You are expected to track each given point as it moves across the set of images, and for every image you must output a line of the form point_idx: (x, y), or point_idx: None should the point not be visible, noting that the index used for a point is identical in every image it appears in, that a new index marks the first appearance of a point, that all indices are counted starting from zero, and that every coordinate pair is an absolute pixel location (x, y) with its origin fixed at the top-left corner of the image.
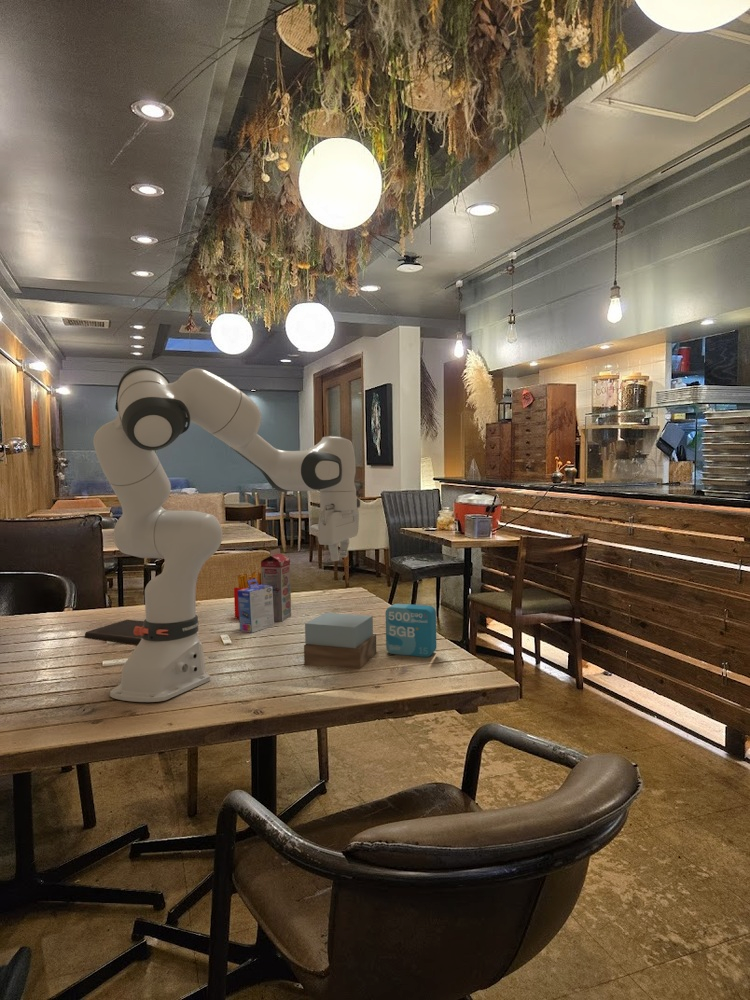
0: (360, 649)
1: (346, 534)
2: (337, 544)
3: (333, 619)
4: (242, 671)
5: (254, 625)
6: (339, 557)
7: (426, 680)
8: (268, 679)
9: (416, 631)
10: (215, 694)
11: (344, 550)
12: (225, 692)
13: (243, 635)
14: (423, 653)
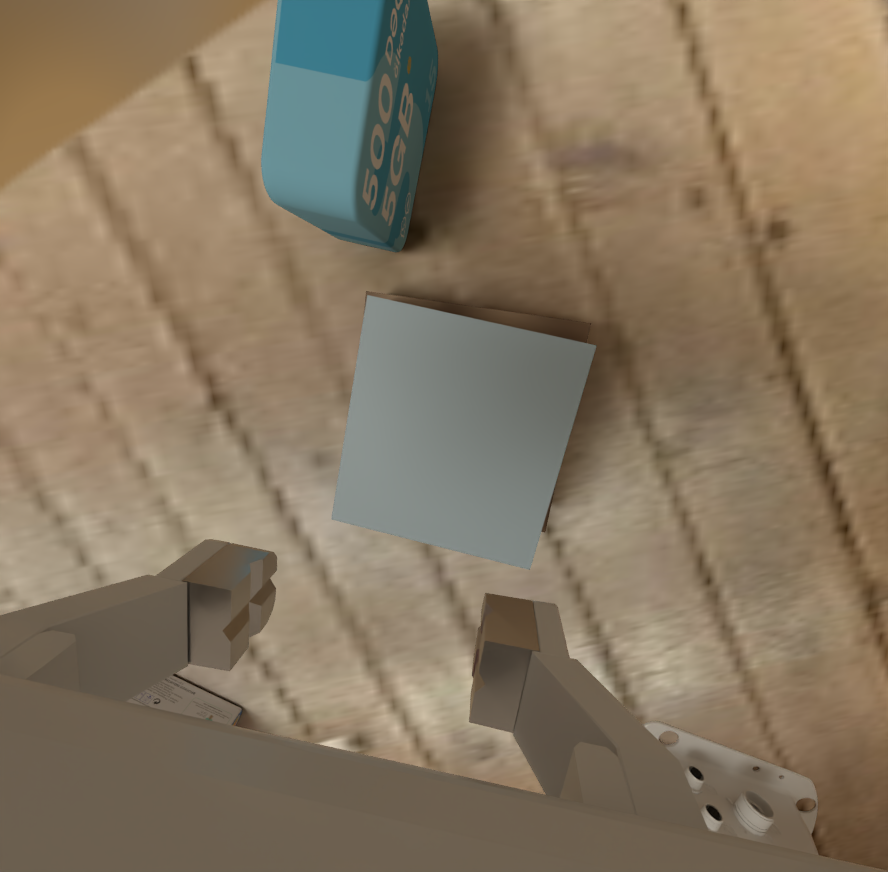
0: (577, 321)
1: (144, 850)
2: (639, 800)
3: (452, 466)
4: (608, 655)
5: (220, 720)
6: (495, 605)
7: (719, 47)
8: (683, 576)
9: (410, 76)
10: (804, 676)
11: (215, 606)
12: (790, 657)
13: (267, 723)
14: (431, 91)
